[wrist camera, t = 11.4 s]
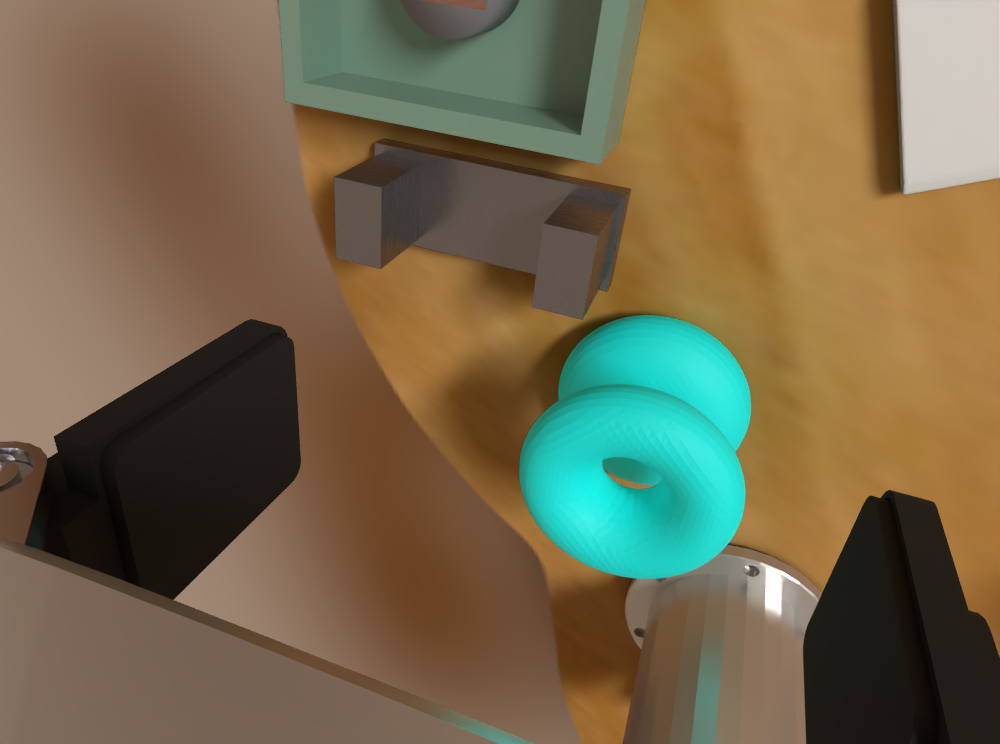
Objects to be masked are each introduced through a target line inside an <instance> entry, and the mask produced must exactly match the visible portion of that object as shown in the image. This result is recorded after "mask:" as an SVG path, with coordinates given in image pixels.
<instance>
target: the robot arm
mask: <svg viewBox="0 0 1000 744" xmlns="http://www.w3.org/2000/svg"><path fill="white" fill-rule="evenodd" d="M54 439H55V443H56V446H57V450H58V453H56V454H54V455H53V456H52V457H50V458H48V459H47V456H46V454H45V453H44V452H43V451H42V449H41V448H39V447H36V446H34V445H32V444H29V443H23V442H16V441H14V442H0V744H534V743H532V742H530V741H527V740H524V739H522V738H520V737H517V736H515V735H512V734H509V733H507V732H505V731H502V730H500V729H497V728H495V727H492V726H490V725H487V724H485V723H482V722H480V721H477V720H475V719H473V718H470V717H467V716H465V715H463V714H460V713H457V712H455V711H453V710H450V709H448V708H445V707H443V706H440V705H437V704H435V703H432V702H430V701H427V700H425V699H422V698H420V697H418V696H415V695H412V694H410V693H407V692H405V691H402V690H400V689H397V688H395V687H392V686H390V685H387V684H385V683H382V682H380V681H377V680H375V679H372V678H370V677H367V676H365V675H362V674H360V673H357V672H354V671H352V670H350V669H347V668H344V667H342V666H339V665H337V664H334V663H332V662H329V661H327V660H324V659H322V658H319V657H317V656H314V655H312V654H309V653H307V652H304V651H302V650H299V649H296V648H294V647H292V646H289V645H286V644H284V643H281V642H279V641H276V640H274V639H271V638H269V637H266V636H264V635H261V634H259V633H256V632H254V631H251V630H249V629H246V628H243V627H240V626H238V625H236V624H233V623H230V622H228V621H225V620H223V619H220V618H218V617H215V616H213V615H210V614H208V613H205V612H202V611H200V610H197V609H195V608H192V607H189V606H187V605H184V604H182V603H179V602H177V601H174V599H175V598H176V597H177V596H178V594H180V593H181V592H182V591H183V590H184V589H185V588H186V587H187V586H188V585H189V584H190V583H191V582H192V581H193V580H194V579H195V578H196V577H197V576H198V575H199V574H200V573H201V572H202V571H203V570H204V569H205V568H206V567H207V566H208V565H209V564H210V563H211V562H212V561H213V560H214V559H215V558H216V557H217V556H218V555H219V554H220V553H221V552H222V551H223V550H224V549H225V548H226V547H227V546H228V545H229V544H230V543H231V542H232V541H233V540H234V539H235V538H236V537H237V536H238V535H239V534H240V533H241V532H242V531H243V530H244V529H245V528H246V527H247V526H248V525H249V524H250V523H251V522H252V521H253V520H254V519H255V518H256V517H258V515H260V513H262V512H263V511H264V509H266V508H267V507H268V506H269V505H270V504H271V503H272V502H273V501H274V499H276V498H277V497H278V496H279V495H280V494H281V492H283V491H284V490H285V489H286V488H287V487H288V486H289V485H290V484H291V483H292V482H293V481H294V479H295V477H296V476H297V474H298V472H299V469H300V463H301V457H300V440H299V423H298V406H297V388H296V372H295V354H294V344H293V341H292V339H290V338H289V337H287V333H286V331H285V330H284V329H283V328H282V327H280V326H276V325H272V324H269V323H265V322H261V321H257V320H252V319H250V320H247V321H245V322H243V323H242V324H240V325H239V326H237V327H235V328H233V329H232V330H230V331H229V332H227V333H225V334H224V335H222V336H220V337H219V338H217V339H215V340H214V341H212V342H210V343H209V344H207V345H205V346H204V347H202V348H200V349H199V350H197V351H195V352H194V353H192V354H190V355H189V356H187V357H185V358H184V359H182V360H180V361H179V362H177V363H175V364H174V365H172V366H170V367H169V368H167V369H165V370H164V371H162V372H161V373H159V374H157V375H155V376H154V377H152V378H151V379H149V380H147V381H146V382H144V383H142V384H140V385H139V386H137V387H135V388H134V389H132V390H130V391H129V392H127V393H126V394H124V395H122V396H121V397H119V398H117V399H116V400H114V401H113V402H111V403H109V404H107V405H106V406H104V407H102V408H101V409H99V410H97V411H96V412H94V413H92V414H91V415H89V416H87V417H86V418H84V419H82V420H81V421H79V422H77V423H76V424H74V425H73V426H71V427H69V428H67V429H66V430H64V431H62V432H61V433H59V434H58V435H56V436H54ZM625 618H626V622H627V626H628V630H629V632H630V634H631V636H632V638H633V640H634V642H635V643H636V644H637V645H638V647H639V648H640V649H641V653H640V658H639V663H638V668H637V673H636V678H635V683H634V688H633V693H632V699H631V704H630V709H629V714H628V719H627V724H626V729H625V734H624V739H623V744H1000V658H999V655H998V652H997V649H996V646H995V643H994V640H993V637H992V634H991V631H990V628H989V626H988V624H987V622H986V620H985V618H983V617H982V616H981V615H980V614H979V613H975V612H972V611H969V610H968V607H967V604H966V601H965V597H964V594H963V591H962V588H961V584H960V581H959V578H958V575H957V571H956V568H955V565H954V562H953V558H952V555H951V552H950V549H949V545H948V542H947V539H946V536H945V532H944V529H943V526H942V523H941V519H940V516H939V513H938V510H937V507H936V505H935V503H934V502H932V501H929V500H925V499H921V498H917V497H914V496H910V495H906V494H903V493H899V492H895V491H891V490H888V491H886V492H885V493H884V494H883V496H882V497H881V498H878V497H874V496H869V497H868V498H867V499H866V501H865V503H864V504H863V507H862V509H861V511H860V513H859V515H858V517H857V520H856V522H855V524H854V526H853V528H852V530H851V532H850V535H849V537H848V539H847V541H846V543H845V545H844V547H843V550H842V552H841V554H840V556H839V558H838V560H837V563H836V565H835V567H834V569H833V571H832V573H831V575H830V578H829V580H828V582H827V584H826V586H825V588H824V591H823V593H821V592H820V591H819V590H818V589H817V588H816V587H815V586H814V584H813V583H812V582H811V581H810V580H809V579H808V578H806V577H805V576H804V575H802V574H801V573H799V572H798V571H797V570H795V569H794V568H792V567H791V566H789V565H787V564H785V563H783V562H781V561H779V560H777V559H776V558H774V557H772V556H769V555H766V554H763V553H760V552H757V551H754V550H751V549H747V548H742V547H737V546H732V545H727V546H726V547H725V548H724V549H723V550H722V551H721V552H720V553H719V554H718V555H717V556H715V557H714V558H713V559H711V560H710V561H709V562H707V563H706V564H704V565H702V566H700V567H699V568H697V569H694V570H692V571H690V572H687V573H684V574H681V575H677V576H672V577H666V578H658V579H636V578H633V579H632V581H631V583H630V585H629V588H628V593H627V597H626V601H625Z"/></svg>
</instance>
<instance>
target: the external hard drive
mask: <svg viewBox="0 0 1000 744" xmlns="http://www.w3.org/2000/svg"><path fill="white" fill-rule="evenodd" d="M893 19H894V42H895V65H896V89H897V111H898V135H899V161H900V187H901V190H902V192H903V194H911V193H916V192H922V191H928V190H934V189H940V188H946V187H951V186H957V185H962V184H968V183H973V182H979V181H985V180H991V179H996V178H1000V0H893Z"/></svg>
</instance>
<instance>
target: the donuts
mask: <svg viewBox="0 0 1000 744" xmlns="http://www.w3.org/2000/svg"><path fill="white" fill-rule="evenodd" d="M750 414H751V398H750V391H749V387H748V383H747V380H746V378H745V375H744V373H743V371H742V369H741V367H740V365H739V364H738V362H737V361H736V359H735V358H734V356H733V355H732V354H731V352H730V351H729V350H728V349H727V348H726V347H725V346H724V345H723V344H722V343H721V342H720V341H719V340H717V339H716V338H715V337H713V336H712V335H711V334H709V333H708V332H706V331H704V330H703V329H701V328H699V327H697V326H695V325H693V324H690V323H688V322H685V321H682V320H679V319H675V318H671V317H666V316H658V315H637V316H629V317H624V318H620V319H617V320H614V321H611V322H609V323H606V324H604V325H602V326H600V327H599V328H597V329H595V330H594V331H592V332H591V333H590V334H588V335H587V336H586V337H584V338H583V339H582V340H581V341H580V342H579V343H578V344H577V345H576V347H575V348H574V349H573V351H572V352H571V353H570V355H569V357H568V359H567V360H566V362H565V364H564V367H563V369H562V372H561V376H560V381H559V388H558V401H557V402H556V403H554V404H553V405H552V406H551V407H549V408H548V409H547V410H546V411H545V412H544V413H543V414H542V415H541V416H540V417H539V418H538V419H537V420H536V422H535V423H534V424H533V426H532V427H531V429H530V431H529V433H528V435H527V437H526V439H525V441H524V444H523V447H522V451H521V455H520V463H519V480H520V486H521V490H522V494H523V497H524V500H525V503H526V505H527V507H528V510H529V512H530V514H531V515H532V517H533V519H534V520H535V522H536V523H537V525H538V526H539V527H540V529H541V530H542V531H543V532H544V533H545V535H546V536H547V537H548V538H549V539H550V540H551V541H553V542H554V543H555V544H556V545H557V546H558V547H559V548H560V549H562V550H563V551H564V552H566V553H567V554H569V555H570V556H572V557H573V558H575V559H576V560H578V561H580V562H582V563H584V564H586V565H588V566H590V567H592V568H595V569H598V570H600V571H603V572H606V573H609V574H613V575H617V576H621V577H629V578H636V579H658V578H666V577H672V576H677V575H681V574H684V573H687V572H690V571H692V570H694V569H697V568H699V567H700V566H702V565H704V564H706V563H707V562H709V561H710V560H711V559H713V558H714V557H715V556H717V555H718V554H719V553H720V552H721V551H722V550H723V549H724V548H725V547H726V546H727V545H728V543H729V542H730V541H731V539H732V538H733V536H734V534H735V532H736V530H737V528H738V526H739V524H740V522H741V519H742V516H743V511H744V505H745V482H744V477H743V473H742V469H741V466H740V463H739V460H738V457H737V455H736V453H735V452H736V450H737V449H738V448H739V446H740V444H741V442H742V440H743V438H744V436H745V434H746V432H747V429H748V426H749V421H750ZM604 470H605V471H607V472H609V473H611V474H613V475H615V476H617V477H619V478H622V479H625V480H628V481H631V482H635V483H640V484H645V485H655V486H654V487H651V488H647V489H634V488H629V487H625V486H623V485H621V484H618V483H617V482H615V481H614V480H612V479H611V478H610V477H609V476H608V475H607V474H606V472H605V471H604Z"/></svg>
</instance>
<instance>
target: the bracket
mask: <svg viewBox="0 0 1000 744" xmlns="http://www.w3.org/2000/svg"><path fill="white" fill-rule="evenodd" d="M630 191H631V189H628V188H623V187H618V186H613V185H608V184H603V183H598V182H594V181H589V180H584V179H579V178H574V177H569V176H564V175H559V174H554V173H550V172H545V171H540V170H535V169H530V168H525V167H520V166H515V165H511V164H506V163H501V162H496V161H491V160H486V159H481V158H476V157H472V156H467V155H462V154H457V153H452V152H447V151H442V150H437V149H432V148H428V147H423V146H418V145H413V144H408V143H403V142H398V141H393V140H389V139H382V140H380V141H377V142H375V157H373V158H371V159H369V160H367V161H365V162H363V163H361V164H359V165H357V166H355V167H353V168H351V169H349V170H347V171H345V172H343V173H341V174H339V175H337V176H335V177H334V195H335V232H336V258H338V259H342V260H346V261H350V262H354V263H358V264H362V265H366V266H370V267H374V268H378V269H382V268H383V267H384V266H385V265H387V264H388V263H389V262H390V261H392V260H393V259H394V258H395V257H397V256H398V255H399V254H400V253H402V252H403V251H404V250H406V249H407V248H408V247H409V246H411V245H414V246H418V247H423V248H427V249H431V250H435V251H439V252H443V253H448V254H452V255H456V256H460V257H464V258H468V259H473V260H477V261H481V262H485V263H489V264H493V265H498V266H502V267H506V268H510V269H514V270H518V271H523V272H527V273H531V274H535V275H536V279H535V286H534V293H533V300H532V307H533V308H537V309H541V310H545V311H549V312H553V313H557V314H561V315H565V316H569V317H573V318H577V319H581V320H583V318H584V316H585V314H586V312H587V311H588V309H589V307H590V305H591V303H592V301H593V299H594V298H595V296H596V294H597V292H598V290H602V291H606V292H607V291H608V289H609V287H610V285H611V282H612V277H613V272H614V268H615V263H616V258H617V253H618V249H619V244H620V239H621V234H622V229H623V225H624V220H625V215H626V210H627V205H628V201H629V196H630Z"/></svg>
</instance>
